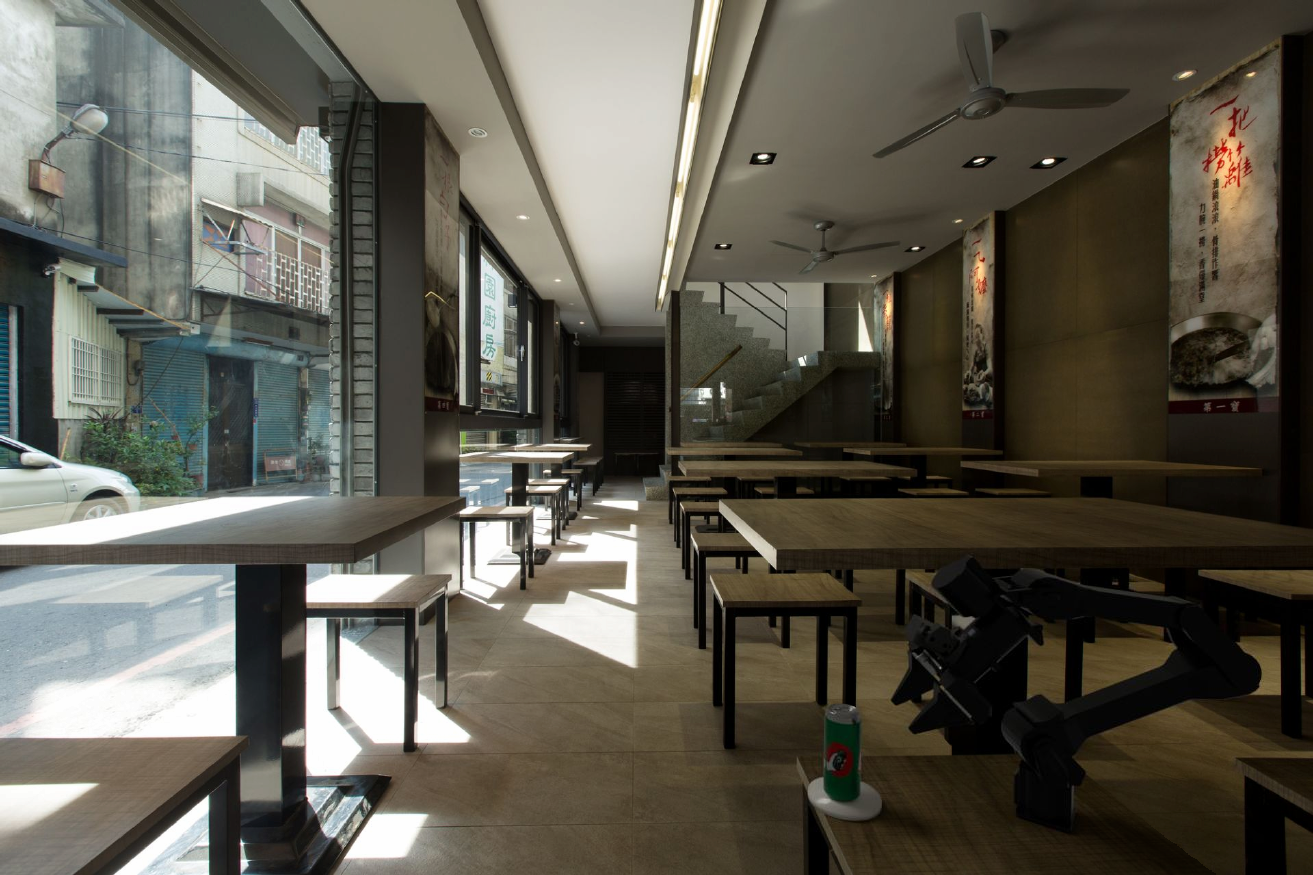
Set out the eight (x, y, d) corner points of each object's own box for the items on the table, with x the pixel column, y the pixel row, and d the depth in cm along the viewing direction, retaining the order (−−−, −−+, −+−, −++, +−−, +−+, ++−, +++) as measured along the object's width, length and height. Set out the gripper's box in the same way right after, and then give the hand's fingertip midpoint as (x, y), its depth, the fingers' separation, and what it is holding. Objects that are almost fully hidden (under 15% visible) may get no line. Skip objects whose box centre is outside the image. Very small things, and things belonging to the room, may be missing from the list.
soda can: (866, 802, 91) (868, 716, 91) (832, 805, 90) (834, 718, 90) (850, 783, 96) (851, 701, 96) (817, 786, 95) (818, 703, 95)
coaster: (891, 797, 94) (891, 791, 94) (867, 830, 86) (867, 824, 86) (824, 774, 100) (824, 768, 100) (796, 803, 92) (796, 797, 92)
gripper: (922, 583, 101) (847, 651, 102) (967, 617, 83) (875, 700, 84) (976, 636, 100) (899, 705, 102) (1033, 683, 82) (938, 766, 83)
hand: (901, 716), depth 93 cm, fingers open, 9 cm apart
